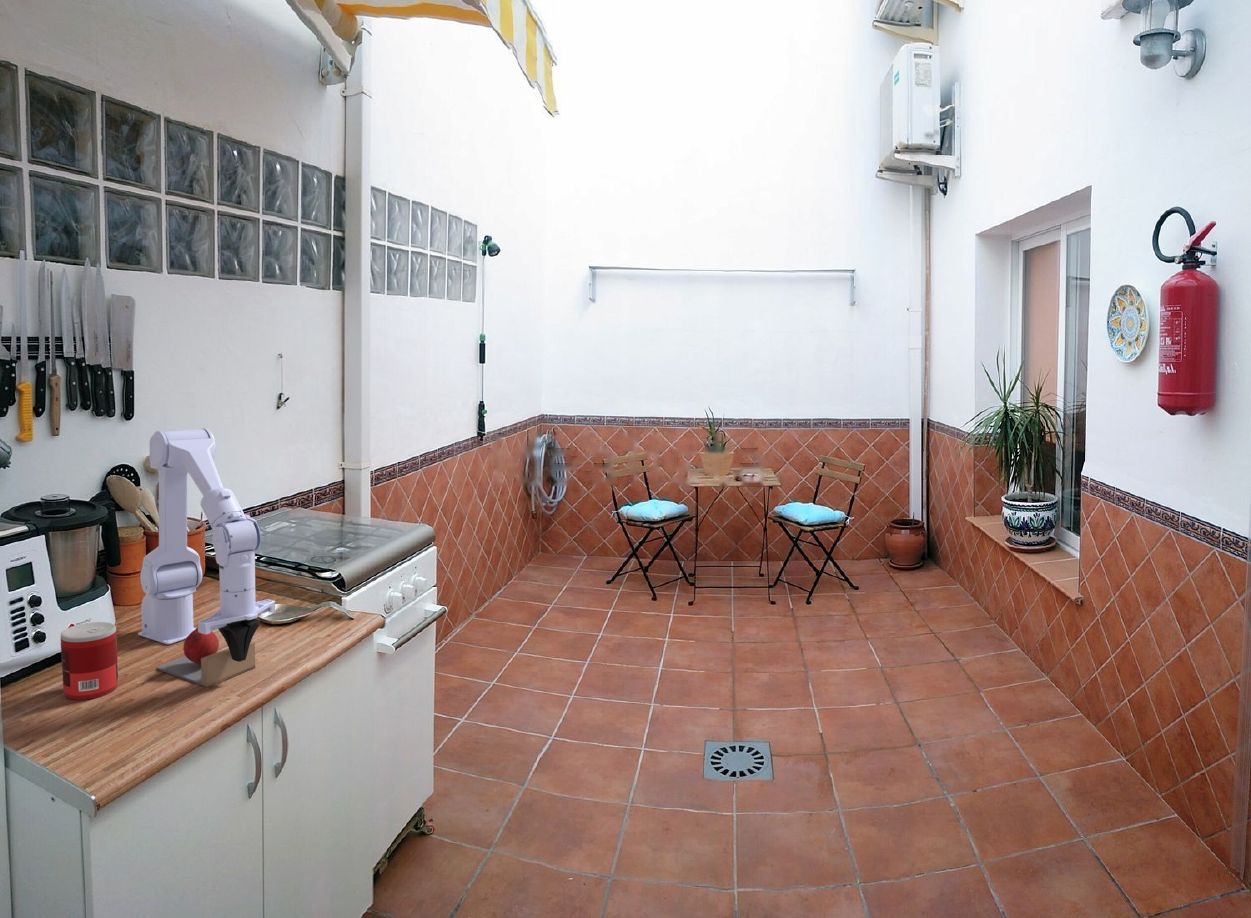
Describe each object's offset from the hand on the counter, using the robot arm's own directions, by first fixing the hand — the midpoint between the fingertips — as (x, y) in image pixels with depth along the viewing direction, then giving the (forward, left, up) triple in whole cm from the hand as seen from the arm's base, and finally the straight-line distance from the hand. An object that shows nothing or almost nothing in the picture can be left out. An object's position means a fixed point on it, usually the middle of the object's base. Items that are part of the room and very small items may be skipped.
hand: (239, 659), depth 146 cm
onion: (-10, 0, -4) cm, 11 cm away
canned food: (-17, -16, -4) cm, 24 cm away
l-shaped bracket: (-9, 0, -4) cm, 10 cm away
